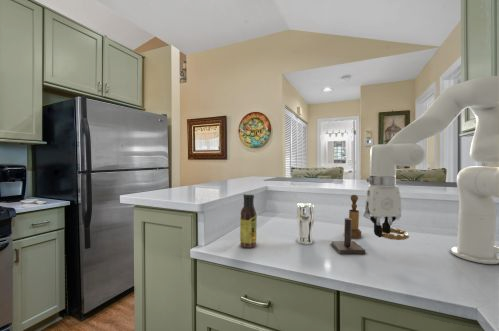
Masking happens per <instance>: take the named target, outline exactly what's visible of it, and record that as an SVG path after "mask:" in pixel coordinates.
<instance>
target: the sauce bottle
mask: <svg viewBox="0 0 499 331" xmlns="http://www.w3.org/2000/svg"><path fill="white" fill-rule="evenodd" d="M254 199H255V194H254V193H244V194H243V207H242V208H241V210H240V220H239V222H240V224H239V225H240V227H239V232H240V233H239V242H240V247H242V248H248V249H250V248H254V247H256V245H257V227H258V226H257V223H258V222H257V218H258V217H257V216H258V215H257V212H256V209H255V206H254Z"/></svg>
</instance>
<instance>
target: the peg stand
mask: <svg viewBox="0 0 499 331" xmlns="http://www.w3.org/2000/svg"><path fill="white" fill-rule="evenodd" d="M351 226H352V219H350V218H349V217H345V218H344V228H343V230H344V232H343V234H344V235H343V240H330V245H331V247H332V248H334V249H335V251H337V252H338V254H340V255H365V254H366V249H365V248H363V246H361V245H359V244H358V243H357V242H356V241H354V240H352V238H351Z"/></svg>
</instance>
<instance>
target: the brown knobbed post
mask: <svg viewBox="0 0 499 331" xmlns="http://www.w3.org/2000/svg"><path fill="white" fill-rule="evenodd" d="M350 200H351V202H352V204H351V209H349V211H348V218H350V219H352V226H351V239H361V238H362V231H361V230H360V228H359V222H360V221H359V220H360V210H357V207H358V205H357V202H358V201H359V196H358V195H357V194H351V195H350Z"/></svg>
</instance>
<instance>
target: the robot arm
mask: <svg viewBox="0 0 499 331" xmlns="http://www.w3.org/2000/svg"><path fill="white" fill-rule="evenodd" d="M465 109H469V110H470V111H471V113H473V116H474V117H475V121H476V124H475V130H474V133H473V137H472V141H471V144H470V147H469V148H470V149H469V157H470V158H471V159H472V161H473V162H476V163H481V164H495V165H499V75H493V76H483V77H476V78H475V77H474V78H471V79H468V80H464V81H462V82H459V83H455V84H452V85H449V86H448V87H446V88H445V89H443V91H441V93H440V94H439V95H437V97H436V98H435V99H434V101H433V102H432V103H431V104H430V105H429V106H428V107H427V108H426V109H425V110H424V112H423V113H422V114H421V115H420V116H419V117H417V118H416V119H415V120H413V121H411V122H410V123H408V125H406V126H404V127H403V128H402V129H400V130H399V131H398V132H397V133H395V135H393V137H392V138H391V139H390V140H389V141H388V142H387V143H385V144H383V143H381V144H380V143H379V144H374V145H372V146H371V147H370V152H369V153H370V156H369V158H370V159H369V162H370V163H369V164H370V165H369V177H367V178H366V179H365V181H366V183H369V184H368V186H367V189H366V194H365V202H364V203H365V205H364V208H365V209H364V210H365V211H364V213H363V217H364V218H366V219H367V220H370V221H371V223H373V234H374V235H375V236H376V237H378V238H383V237H382V232H384V233H388V234H391V232H390V228H391V226H392V225H393V223H394V222H395V221H396V220H398V219H400V218H401V217H402V198H401V192H400V187H399V185H397V166H400V167H416V166H419V165H420V164H421V163H423V162H424V161H425V159H426V156H427V155H426V154H427V153H426V150H425V149H424V147H422V146H421V145H420V144H418V143H420V142H421V141H425V140H427V139H430V138H432V137H435V136H437V135H439V134H441V133H443V132H445V131H446V130H447V129H448V128H449V127H450V125H452V123H453V122H454V121H455V120H456V119H457V117H459V116H460V114H461V113H462V112H463V111H464V110H465ZM456 186H457V192H458V222H457V240H456V242H457V243H456V246H454V247H452V248H451V250H450V253H452V254H453V255H454V256H456V257H458V258H461V259H463V260H466V261H470V262H474V263H479V264H483V265H484V264H486V265H497V264H499V256H498V255H497V254H499V246H496V245H495V242H496V227H497V226H496V224H497V205H496V203H495V201H494V198H499V166H498V167H496V166H481V165H475V166H474V165H473V166H467V167H464V168H463V169H461V170H459V171H458V174H457V175H456ZM493 197H494V198H493ZM381 218H383V222H382V224H381Z"/></svg>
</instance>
